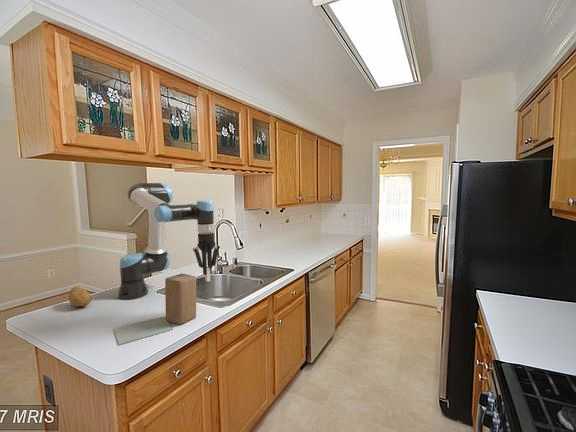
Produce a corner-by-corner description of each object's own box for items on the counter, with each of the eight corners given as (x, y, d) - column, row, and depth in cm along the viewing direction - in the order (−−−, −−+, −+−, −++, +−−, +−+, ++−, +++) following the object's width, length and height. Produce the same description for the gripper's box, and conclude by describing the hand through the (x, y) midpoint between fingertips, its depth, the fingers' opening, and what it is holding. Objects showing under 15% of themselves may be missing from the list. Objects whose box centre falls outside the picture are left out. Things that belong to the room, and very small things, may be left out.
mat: (113, 329, 123) (113, 328, 123) (163, 317, 135) (163, 316, 135) (118, 345, 110) (118, 344, 110) (172, 330, 122) (172, 329, 122)
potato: (73, 313, 140) (72, 294, 139) (66, 304, 150) (65, 287, 150) (94, 307, 146) (92, 290, 146) (85, 300, 157) (84, 283, 156)
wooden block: (164, 320, 130) (164, 277, 128) (182, 313, 139) (181, 272, 137) (180, 325, 125) (179, 281, 124) (197, 317, 134) (197, 275, 133)
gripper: (195, 234, 130) (197, 285, 131) (222, 232, 137) (223, 280, 139) (189, 233, 135) (191, 281, 137) (215, 230, 143) (217, 276, 145)
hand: (207, 280), depth 138 cm, fingers closed
